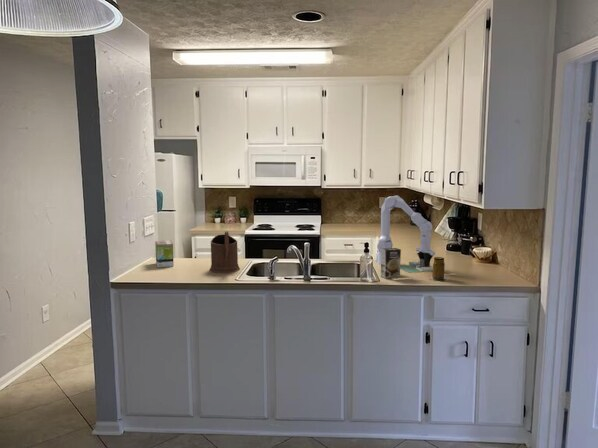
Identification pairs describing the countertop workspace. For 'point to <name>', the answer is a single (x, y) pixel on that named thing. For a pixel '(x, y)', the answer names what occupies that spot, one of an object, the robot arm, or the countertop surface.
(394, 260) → the coffee box
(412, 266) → the grey knob block
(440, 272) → the condiment
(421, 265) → the plug
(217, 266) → the brown tall hollow container
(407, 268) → the board
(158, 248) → the tea box
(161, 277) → the countertop surface
